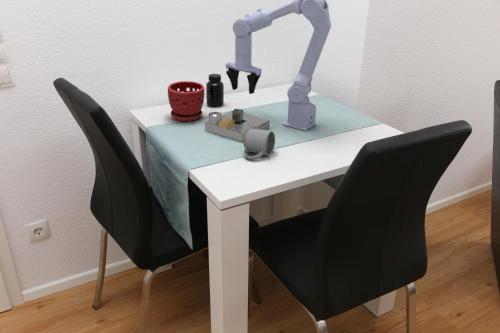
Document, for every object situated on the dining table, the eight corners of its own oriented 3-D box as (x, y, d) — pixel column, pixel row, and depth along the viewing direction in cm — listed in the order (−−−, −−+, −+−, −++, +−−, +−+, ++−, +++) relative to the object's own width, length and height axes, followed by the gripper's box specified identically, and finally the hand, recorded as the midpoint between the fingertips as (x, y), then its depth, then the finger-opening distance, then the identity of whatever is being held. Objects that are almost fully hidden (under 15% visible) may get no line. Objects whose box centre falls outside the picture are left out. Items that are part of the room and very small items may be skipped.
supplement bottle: (204, 106, 185) (202, 76, 180) (210, 101, 191) (209, 72, 186) (220, 108, 183) (219, 78, 178) (226, 103, 189) (225, 73, 184)
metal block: (243, 128, 165) (243, 109, 162) (240, 131, 163) (240, 112, 160) (235, 127, 166) (234, 108, 163) (232, 130, 163) (232, 111, 160)
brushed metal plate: (269, 127, 166) (270, 111, 163) (241, 142, 154) (241, 125, 152) (233, 118, 174) (233, 102, 172) (205, 130, 163) (204, 114, 160)
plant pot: (163, 121, 171) (160, 89, 165) (179, 109, 182) (177, 79, 177) (196, 125, 167) (194, 93, 162) (210, 113, 178) (209, 82, 173)
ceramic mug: (251, 145, 152) (251, 123, 149) (275, 150, 149) (276, 127, 146) (237, 158, 144) (237, 135, 140) (262, 163, 141) (262, 140, 137)
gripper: (266, 54, 164) (265, 92, 170) (234, 48, 172) (234, 85, 178) (255, 58, 159) (254, 97, 165) (221, 52, 166) (222, 89, 173)
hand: (243, 91), depth 171 cm, fingers open, 7 cm apart
